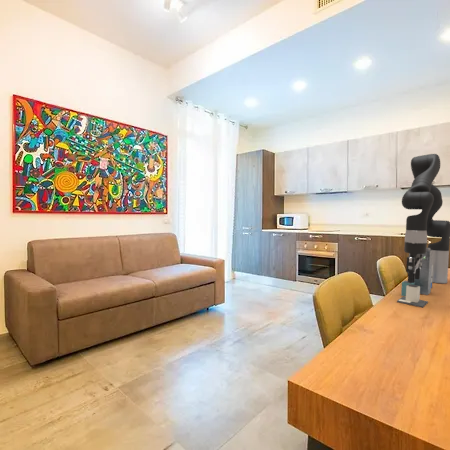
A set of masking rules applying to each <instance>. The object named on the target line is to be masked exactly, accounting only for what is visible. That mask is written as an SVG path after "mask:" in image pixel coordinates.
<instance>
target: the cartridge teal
mask: <svg viewBox="0 0 450 450" xmlns="http://www.w3.org/2000/svg"><path fill="white" fill-rule="evenodd" d="M410 284H412V285H415V283H410V282H408V280H403V281H402V282H401V294H400V295H401V297H406V286H407V285H410Z"/></svg>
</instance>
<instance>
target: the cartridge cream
mask: <svg viewBox="0 0 450 450" xmlns="http://www.w3.org/2000/svg"><path fill="white" fill-rule="evenodd" d="M405 297H406V301H410V302H415V303H418V302H419V300H421V299H420V297H421V295H420V286H418V285H412V284H410V285H407V286H406V296H405Z"/></svg>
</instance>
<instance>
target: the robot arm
mask: <svg viewBox="0 0 450 450" xmlns="http://www.w3.org/2000/svg"><path fill="white" fill-rule="evenodd" d="M410 168H411V172H412V175H413V176H412V177H413V178H414V179H413V181H412V183H411V185H410V186H411V187H410V188H409V189H407V190H406V192H404V194H403V195H402V199H401V205H402V208H404V209H405V210H421V211H420V213H418V214H413V215H408V216H407V217H406V221H405V223H406V224H405V235H404V247H403V249H404V250H403V251H404V253H407V254H409V253H410V257H409V256H407V257H406V269H405V272H406V273H407V281H408V282H410V283H414V282H415V279H420V270H421V268H422V254H425V253H426V250H427V248H430V250H433V255H432V265H433V276H432V283H435V284H448V275H449V274H448V273H449V256H450V254H449V253H450V221H449V220H440V219H437V220H436V219H435V220H434V219H433V218H434V216H435V215H436V214H437V213H438V212H439V211H440V209H441V208H442V206H443V197H442V191H440V190H441V189H439V188H438V187H437V186H436V185H434V184H433V182H434V180H435V179H436V177H437V175H438V173H439V172H440V169H441V158H440V156H439V155H438V154H437V153H429V154H424V155H423V154H422V155H418V156H414V157H412V159H411V160H410ZM428 237H431V238H441V239H440V240H439V241H436V242H432V243H429V244H428ZM410 268H412V269H410Z"/></svg>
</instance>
